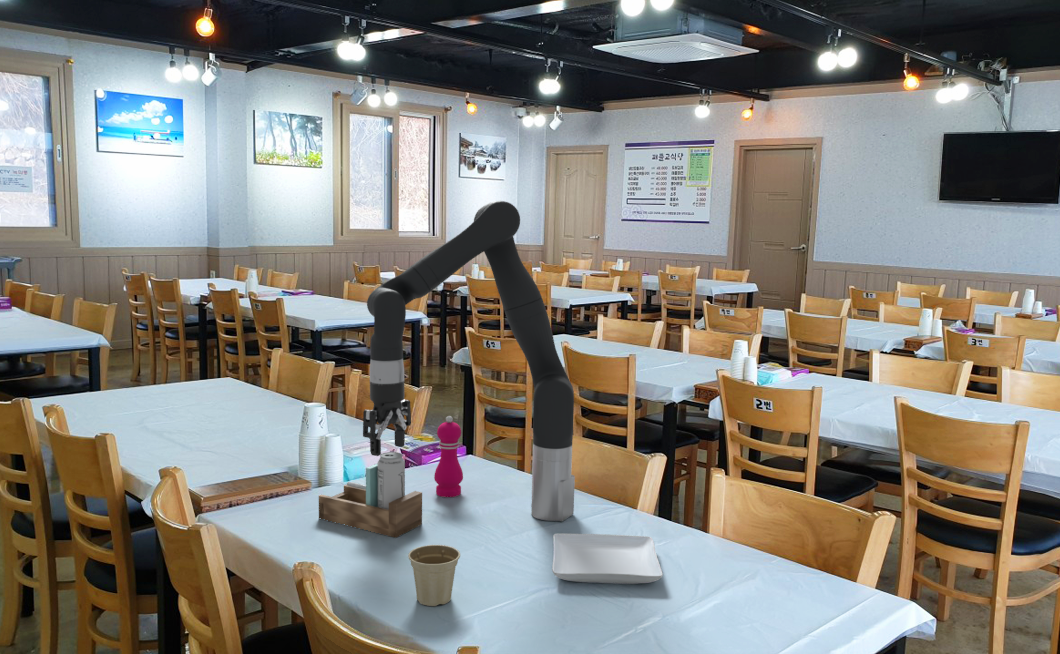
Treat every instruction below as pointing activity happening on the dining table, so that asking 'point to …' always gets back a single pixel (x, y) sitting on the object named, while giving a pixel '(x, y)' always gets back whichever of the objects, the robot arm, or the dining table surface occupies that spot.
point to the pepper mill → (448, 460)
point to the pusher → (369, 486)
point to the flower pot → (434, 573)
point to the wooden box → (372, 512)
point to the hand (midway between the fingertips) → (388, 450)
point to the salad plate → (605, 558)
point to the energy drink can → (390, 478)
